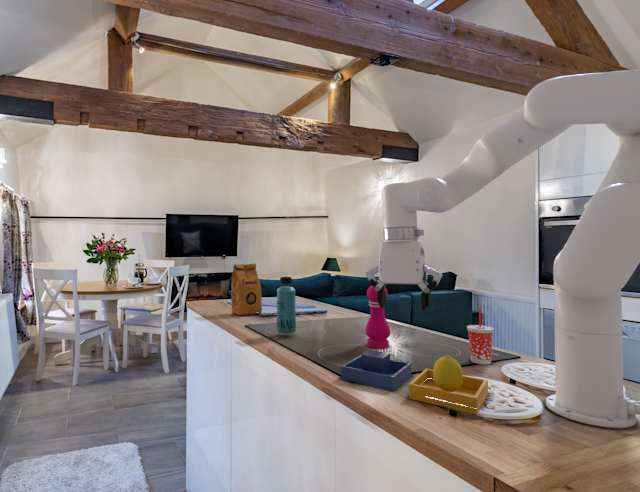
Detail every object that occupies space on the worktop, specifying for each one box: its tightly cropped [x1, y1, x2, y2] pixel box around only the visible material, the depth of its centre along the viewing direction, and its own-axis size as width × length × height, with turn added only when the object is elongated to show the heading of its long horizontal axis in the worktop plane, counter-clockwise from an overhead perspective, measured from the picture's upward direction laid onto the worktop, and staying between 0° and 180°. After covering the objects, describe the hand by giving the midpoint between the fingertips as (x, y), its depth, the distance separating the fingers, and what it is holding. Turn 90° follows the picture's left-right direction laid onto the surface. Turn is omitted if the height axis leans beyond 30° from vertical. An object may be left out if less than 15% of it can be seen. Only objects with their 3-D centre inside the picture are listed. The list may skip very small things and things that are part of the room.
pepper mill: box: [364, 279, 391, 350], centre depth 122 cm, size 7×7×20 cm
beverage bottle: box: [276, 276, 297, 335], centre depth 136 cm, size 6×7×20 cm
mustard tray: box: [408, 368, 489, 415], centre depth 84 cm, size 12×12×3 cm
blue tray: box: [340, 354, 412, 392], centre depth 95 cm, size 12×12×3 cm
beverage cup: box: [466, 307, 495, 365], centre depth 106 cm, size 6×6×14 cm
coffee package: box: [230, 263, 263, 316], centre depth 176 cm, size 10×12×22 cm
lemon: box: [432, 354, 464, 392], centre depth 84 cm, size 6×6×8 cm
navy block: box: [360, 349, 391, 375], centre depth 95 cm, size 5×5×5 cm
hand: (403, 308), depth 95 cm, fingers open, 9 cm apart
